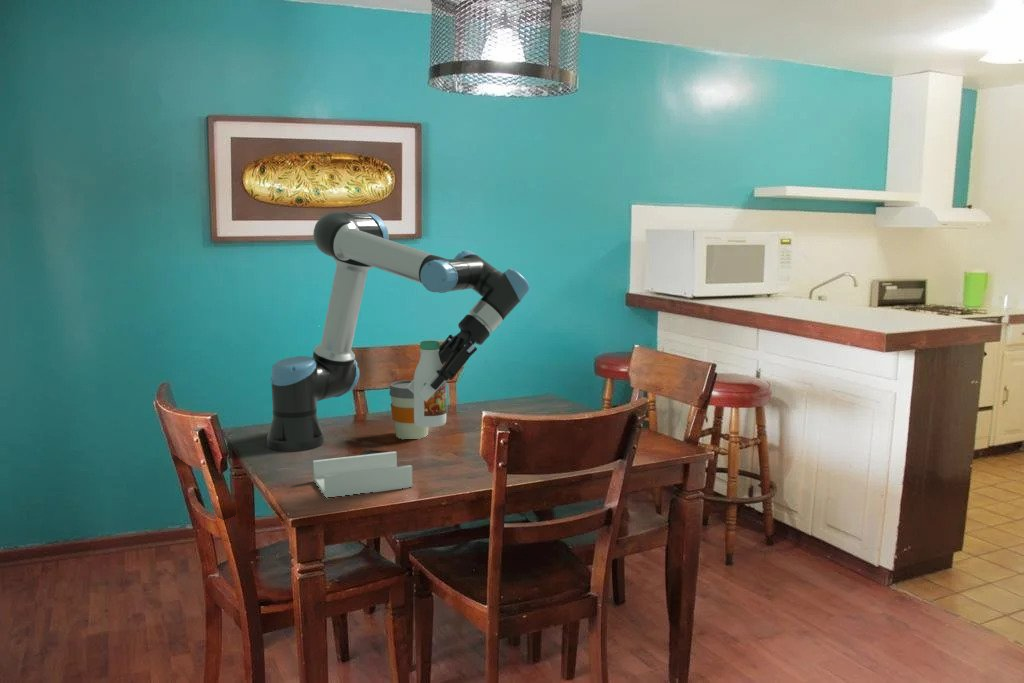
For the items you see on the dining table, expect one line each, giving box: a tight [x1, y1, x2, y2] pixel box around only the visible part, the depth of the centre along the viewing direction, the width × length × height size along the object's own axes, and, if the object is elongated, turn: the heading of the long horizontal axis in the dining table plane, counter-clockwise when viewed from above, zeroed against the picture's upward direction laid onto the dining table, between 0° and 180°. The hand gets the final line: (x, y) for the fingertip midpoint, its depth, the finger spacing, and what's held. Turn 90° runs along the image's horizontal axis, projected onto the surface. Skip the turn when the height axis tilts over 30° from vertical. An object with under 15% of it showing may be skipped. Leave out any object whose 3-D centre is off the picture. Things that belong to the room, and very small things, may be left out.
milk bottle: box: [413, 340, 447, 428], centre depth 196 cm, size 8×8×20 cm
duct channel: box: [312, 451, 413, 499], centre depth 192 cm, size 13×20×5 cm
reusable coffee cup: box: [389, 379, 430, 440], centre depth 234 cm, size 12×13×15 cm
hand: (416, 394), depth 195 cm, fingers closed on milk bottle, 8 cm apart
